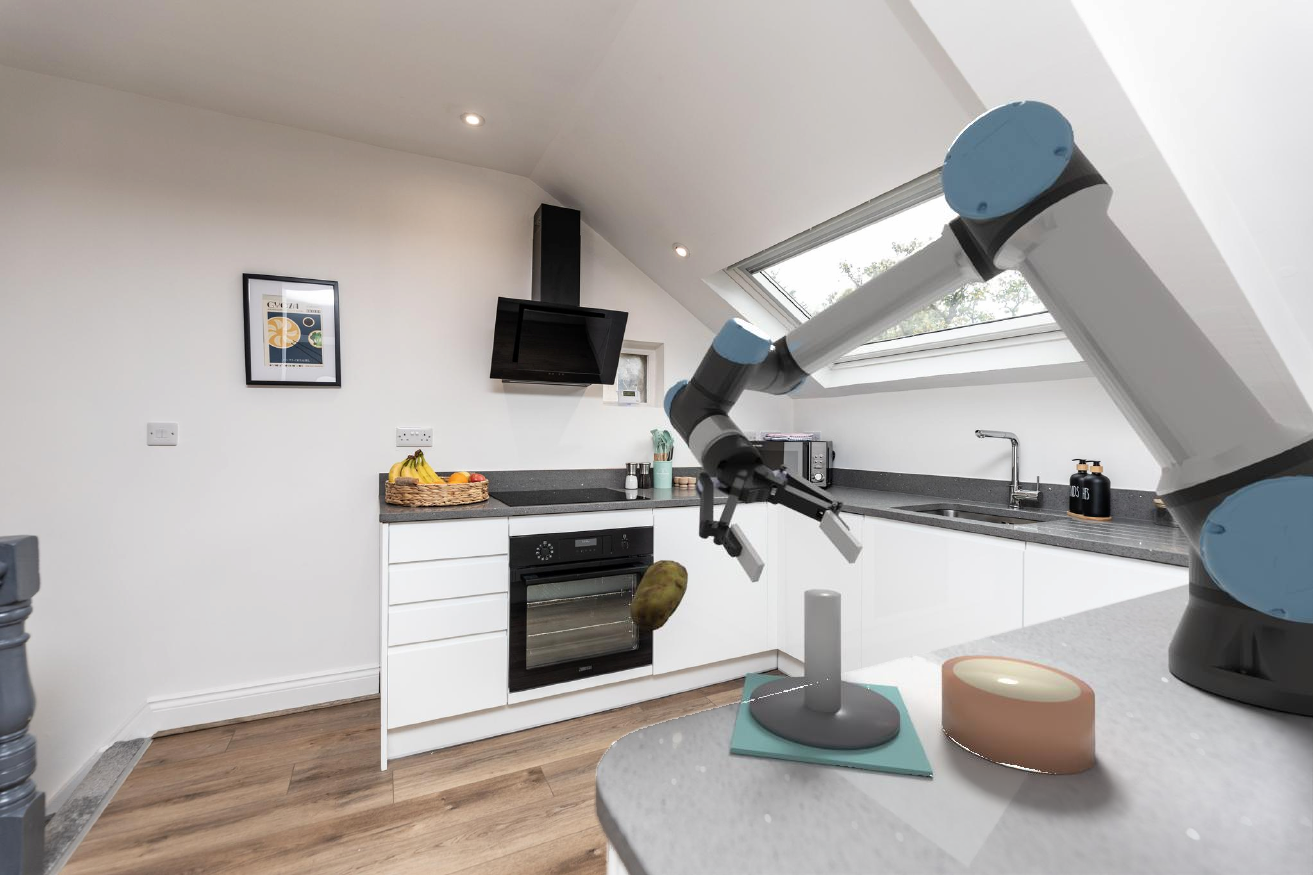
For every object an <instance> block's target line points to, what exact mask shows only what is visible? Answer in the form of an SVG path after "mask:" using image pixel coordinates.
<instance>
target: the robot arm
mask: <svg viewBox="0 0 1313 875" xmlns="http://www.w3.org/2000/svg"><path fill="white" fill-rule="evenodd" d="M940 173H941V175H940V176H941V180H940V181H941V182H940V183H941V188H942V191H943V194H944V198H945V199H944V200H945V201H946V203H947V205H948V207H949V208H950V209H951V210H952V211H954V213H956V214H955V215H953V216H952V217H950V218H949V219H948V220H946V221H945V222H944V225H943V228H942V231H941V233H940V234H938V235H937V236H935V237H934V238H932V239H931V240H929V241H927V242H926V243H924V244H923V245H922V246H920V247H919V248H917V249H915V250H914V251H912V252H911V253H909V254H907V255H906V256H905V257H903V258H901V259H900V260H898V261H897V262H895V263H893V265H890V266H889V267H888V268H886V269H885V270H883V271H881V272H880V273H878V274H877V275H875V276H874V277H872V278H871V279H869V280H868V281H866V282H865V283H863V284H862V285H860V286H859V287H857V288H855V289H854V290H852V291H851V292H848V294H846V295H844V296H843V297H841V298H840V299H839V300H837V301H836V302H834V303H832V304H830V305H829V306H827V307H826V308H825V309H823V310H822V311H820V312H819V313H817V314H815V315H814V316H812V317H811V318H809V319H808V320H806V321H804V322H803V323H802V324H800V325H798V326H797V327H796V328H794V329H792V330H791V331H789V332H788V333H786V334H785V335H783V336H781V337H780V338H779V339H777V340H775V341H774V342H772V340H771V337H770V336H769V335H767V333H765V332H764V331H762V330H761V329H760V328H758V327H756V326H755V325H753V324H751V323H749V322H746V321H745V320H743V319H741V318H738V317H732V318H731V317H730V318H729V319H727V320H726V321H725V323H724V324H723V326H722V328H721V329H720V331H719V332H718V334H717V335H715V337H714V338H713V341H712V342H711V343H710V346H709V347H708V349H707V351H706V353H705V354H704V356H703V358H702V359H701V362H700V363H699V365H698V367H697V368H696V370H695V371H694V374H693V375H692V376H691V378H687V379H686V378H685V379H682V380H678V381H677V382H676V383H675V385H673V386H670V387H669V389H668V390H667V392H666V393H665V396H664V398H663V410H664V412H665V414H666V416H667V418H668V419H669V423H670V425H671V426H672V427H673V429H674V430H675V431H676V433H678V435H679V436H680V438H681V439H682V440H683V442H684V443H685V444H686V445H687V447H688V449H689V450H690V452H691V454H692V455H693V457H694V458H695V459H696V461H697V462H698V463H699V465H700V466H701V468H702V469H703V470H704V472H702V471H701V472H700V473H699V476H698V479H697V480H698V481H697V484H696V486H695V490H696V493H697V495H698V497H699V518H698V519H699V524H698V536H699V538H701V539H703V540H705V539H708V538H709V537H712V538H713V540H712V542H713V544H715V545H716V546H723V547H724V550H725V551H726V552H727V555H728V556H730V557H731V558H736V559H737V561H738V563H739V564H740V566H741V567H742V569H743V570H744V572H745V573H746V575H747V576H748V578H749V580H750V581H751V583H757V582H759V580H760V578H761V575H762V572H763V570H764V567H765V565H766V564H765V562H764V561H763V559H762V557H761V556H760V555H759V553H758V552H757V550H756V549H755V548H754V546H753V545H752V543H751V542H750V540H749V539H748V538H747V536H746V535H745V532H744V531H742V529H741V527H740V526H739V525H738V523H732V524H731V522H732V519H733V516H734V514H735V510H736V507H737V506H738V503H739V502H742V503H744V504H753V503H755V502H758V503H764V502H768V503H769V504H772V505H774V506H776V505H782V506H784V507H786V508H788V509H790V510H792V511H795V512H797V513H799V514H801V515H803V516H805V517H808V518H810V519H813V520H815V521H817V522H819V526H818V527H819V529H820V530H821V531H822V533H823V534H824V535H825V536H826V537H827V538H828V540H829V541H830V542H831V543H832V545H834V547H835V548H836V549H837V551H839V553H840V555H842V557H844V559H845V560H846V561H847V562H848V563H849V564H850V565H851V564H855V563H856V561H857V559H858V557H859V554H861V551H862V549H863V547H864V546H863V544H862V543H860V542H859V540H858V539H857V538H856V537H855V536H854V535H853V533H852V532H851V528H850V527H849V525H847V523H846V522H845V521H844V520H843V518H841V517H840V516H839V515H840V512H841V510H842V508H843V506H844V502H843V500H841V499H840V498H838V497H836V496H835V495H834V494H833V495H832V494H831V493H829V492H827V491H826V490H825V489H822V488H821V487H819V486H818V485H816V484H815V483H813V482H811V481H809V480H807V479H806V478H804V476H803V477H802V476H801V475H799V474H797V473H796V472H795V471H794V470H793V469H792V468H791V467H790V466H789V465H787V464H781V465H780V466H779V469H777V470H772V469H770V468H768V467H766V465H765V464H764V462H763V459H762V456H761V454H760V452H759V450H758V449H757V448H756V447H755V445H754V444H753V443H752V442H751V441H750V440H749V439H748V437H747V436H746V435H745V433H743V431H742V430H741V429H740V427H739V426H738V425H737V424H736V423H735V422H734V421H733V420H732V418H731V417H730V416H729V413H730V411H731V410H732V408H733V407H735V404H736V403H737V402H738V400H739V399H740V397H741V395H742V394H743V392H744V391H745V390H746V391H753V392H759V393H765V394H770V395H773V396H783V395H791V394H795V392H797V391H799V390H800V389H801V388H802V387H803V385H805V384H804V383H806V381H807V378H808V377H809V376H811V375H813V374H814V373H815V374H816V372H818V371H820V370H821V369H824V368H825V367H827V366H828V365H830V364H831V363H834V362H835V361H837V360H838V359H839V360H840V358H842V357H844V356H846V355H848V354H850V353H851V352H853V351H854V350H856V349H857V348H860V347H861V346H863V345H864V344H866V343H868V342H870V341H871V340H873V339H874V338H877V337H878V336H880V335H881V334H884V333H885V332H887V331H889V330H890V329H892V328H893V327H895V326H897V325H899V324H900V323H902V322H904V321H906V320H907V319H909V318H911V317H913V316H914V315H916V314H918V313H919V312H921V311H923V310H925V309H926V308H928V307H930V306H931V305H933V304H935V303H937V302H939V301H940V300H942V299H944V298H945V297H947V296H949V295H950V294H952V293H954V292H955V291H958V290H959V289H960V288H963V287H965V286H966V285H967V284H969V283H973V282H974V283H980V284H984V283H986V282H989V281H990V280H992V279H993V278H995V277H997V276H999V275H1001V274H1002V273H1005V272H1006V271H1017V272H1019V273H1020V275H1021V276H1022V277H1023V278H1024V280H1025V281H1026V283H1027V284H1028V285H1029V286H1030V288H1031V290H1032V291H1033V292H1034V293H1035V295H1036V296H1037V298H1038V299H1039V300H1040V302H1041V303H1042V305H1043V306H1044V308H1045V309H1046V310H1047V312H1048V313H1049V314H1050V315H1051V317H1052V319H1053V320H1054V321H1055V322H1056V324H1057V325H1058V327H1059V329H1061V331H1062V332H1063V334H1064V336H1065V337H1066V338H1067V339H1068V340H1069V342H1070V343H1071V345H1072V346H1073V348H1074V349H1075V350H1076V351H1077V353H1078V354H1079V356H1080V357H1081V359H1082V360H1083V362H1084V363H1085V364H1086V365H1087V367H1088V368H1089V369H1090V371H1091V373H1092V374H1093V375H1094V377H1095V378H1096V379H1097V380H1098V382H1099V383H1100V385H1101V386H1102V388H1103V389H1104V390H1105V392H1106V393H1107V395H1108V396H1109V397H1110V399H1111V401H1112V402H1113V403H1114V404H1115V406H1116V407H1117V409H1118V411H1120V413H1121V414H1122V415H1123V417H1124V418H1125V420H1126V421H1127V422H1128V424H1129V425H1130V426H1131V428H1132V429H1133V430H1134V432H1135V433H1136V435H1137V436H1138V437H1139V439H1140V440H1141V442H1142V443H1143V445H1144V446H1145V447H1146V448H1147V450H1148V452H1150V454H1151V455H1152V457H1153V458H1154V460H1155V461H1156V462H1157V464H1158V465H1159V467H1160V468H1161V475H1160V478H1159V481H1158V484H1157V486H1156V489H1155V493H1156V495H1157V497H1158V498H1159V500H1160V501H1161V502H1162V503H1163V504H1164V506H1165V508H1166V510H1167V511H1168V512H1169V514H1170V515H1171V517H1172V518H1173V519H1174V521H1175V522H1176V524H1177V525H1178V527H1179V528H1180V530H1181V531H1182V533H1183V534H1184V535H1185V537H1186V538H1187V540H1188V601H1187V604H1186V606H1185V609H1184V611H1183V614H1182V616H1181V618H1180V621H1179V623H1178V625H1177V627H1176V630H1175V632H1174V634H1173V636H1172V639H1171V641H1170V643H1169V646H1168V648H1167V649H1168V660H1167V661H1168V664H1167V665H1168V667H1167V668H1168V670H1169V671H1170V672H1171V673H1172V674H1173V675H1174V676H1176V677H1177V678H1179V679H1180V680H1182V681H1184V682H1185V683H1189V684H1190V685H1193V686H1195V687H1197V688H1200V689H1202V690H1205V691H1208V692H1210V693H1213V694H1216V695H1218V696H1222V697H1225V698H1228V699H1232V700H1235V701H1239V702H1242V703H1246V704H1250V705H1255V706H1258V707H1262V708H1268V709H1273V710H1277V711H1283V712H1288V713H1292V714H1299V715H1305V716H1312V717H1313V430H1307V429H1303V428H1298V427H1292V426H1288V425H1285V424H1281V423H1279V422H1277V421H1276V420H1275V419H1274V418H1273V416H1271V414H1270V413H1269V412H1268V410H1267V409H1266V408H1265V406H1264V405H1263V404H1262V403H1261V402H1260V400H1258V398H1257V397H1256V396H1255V394H1254V393H1253V392H1252V391H1251V389H1249V387H1248V386H1247V385H1246V384H1245V382H1244V381H1243V380H1242V378H1241V377H1240V376H1239V375H1238V374H1237V372H1236V371H1235V370H1234V369H1233V367H1232V366H1231V365H1230V364H1229V363H1228V361H1227V360H1226V359H1225V357H1224V356H1223V355H1222V354H1221V353H1220V351H1219V350H1218V349H1217V348H1216V346H1215V345H1214V344H1213V343H1212V341H1210V339H1209V338H1208V336H1207V335H1206V334H1205V333H1204V332H1203V330H1202V329H1201V327H1199V326H1198V324H1197V323H1196V322H1195V321H1194V319H1193V318H1192V317H1191V316H1190V315H1189V313H1188V312H1187V311H1186V309H1185V308H1184V307H1183V306H1182V304H1180V302H1179V300H1177V298H1176V297H1175V296H1174V295H1173V294H1172V292H1171V291H1170V290H1169V288H1168V286H1166V285H1165V284H1164V282H1162V279H1160V277H1159V276H1158V275H1157V273H1156V272H1155V271H1154V270H1153V268H1151V266H1150V265H1149V264H1148V263H1147V262H1146V261H1145V259H1144V258H1143V256H1142V255H1141V254H1140V253H1139V252H1138V250H1137V249H1136V248H1135V247H1134V246H1133V244H1132V243H1131V242H1130V240H1129V239H1128V238H1127V237H1126V236H1125V235H1124V233H1123V232H1122V230H1121V229H1120V228H1119V227H1118V226H1117V225H1116V224H1115V222H1114V221H1113V220H1112V219H1111V217H1110V216H1109V215H1108V210H1109V207H1110V203H1111V201H1112V197H1113V193H1114V190H1113V188H1112V187H1111V185H1110V184H1109V183H1108V182H1107V181H1106V180H1105V178H1104V177H1103V176H1102V174H1101V173H1100V172H1099V171H1098V170H1097V168H1096V167H1095V166H1094V165H1093V163H1092V162H1091V161H1090V160H1089V159H1088V158H1087V156H1086V155H1085V154H1084V153H1083V151H1082V150H1081V149H1080V147H1079V146H1078V145H1077V143H1076V142H1075V135H1074V130H1073V127H1072V124H1071V123H1070V121H1069V120H1068V119H1067V118H1066V117H1065V116H1064V115H1063V113H1061V112H1060V111H1059V110H1058V109H1057V108H1055V107H1054V106H1052V105H1050V104H1048V103H1045V102H1042V101H1036V100H1024V101H1016V102H1008V103H1005V104H1001V105H999V106H996V107H995V108H994V107H993V108H992V109H990V110H988V111H986V112H985V113H982V114H981V115H980V116H978V117H977V118H976V119H974V120H973V121H971V123H969V124H968V125H967V126H966V127H965V128H964V129H963V130H962V131H961V132H960V133H959V135H958V136H956V138H955V140H954V141H953V143H952V144H951V146H950V147H949V148H948V151H947V152H946V156H945V159H944V162H943V165H942V169H941V172H940ZM774 486H776V490H775V493H774V494H773V493H772V492H773V487H774ZM716 489H717V490H718V491H719V492H721V493H723V494H725V495H727V496H728V498H727V499H726V502H725V505H724V508H723V509H722V513H721V515H720V518H719V520H714V507H715V506H714V504H715V502H714V496H715V495H714V494H715V490H716ZM730 524H731V525H730Z"/></svg>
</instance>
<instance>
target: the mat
mask: <svg viewBox="0 0 1313 875" xmlns="http://www.w3.org/2000/svg"><path fill="white" fill-rule="evenodd" d="M788 677H789V676H785V675H784V676H783V675H773V674H763V673H749V672H747V673H746V675H745V680H744V685H743V688H742V689H743V690H742V695H741V699H740V702H744V701H749V700H750V696H751V693H752V692H753V691H754V690H755V689H756V688H757V687H758V686H760V685H762V684H764V683H766V682H769V681H772V680H776V679H781V678H788ZM850 683H853V684H857V685H860V686H863V687H865V688H869V689H871V690H873V691H875V692H877V693H879V694H881V695H882V696H884V697H886V698H887V699H888V700H890V701H891V702H892V703H893V704H894V705H895V706H896V707H897V709H898V711H899V713H900V731H899V733H898V735H897V736H896V737H895V738H894V739H893V740H891V741H890V742H888V743H886V744H883V745H880V746H877V747H873V748H868V749H861V750H831V749H822V748H815V747H810V746H806V745H802V744H798V743H795V742H792V741H789V740H786V739H783V738H781V737H779V736H776V735H774V734H773V733H771V732H769V731H767V730H766V729H764V728H763V727H762V726H760V725H759V724H758V723H757V722H756V721H755V720H754V718H753V717H752V715H751V712H750V702H747V703H742V704H740V703H739V707H738V708H739V709H738V713H737V717H736V721H735V722H736V723H735V726H734V731H733V736H732V740H731V743H730V753H731V754H739V755H746V756H747V755H748V756H756V757H762V758H771V759H780V760H789V761H796V762H804V763H806V762H807V763H812V764H822V765H828V766H836V765H841V766H840V767H844V766H850V767H849V768H852V767H855V768H854V769H861V768H862V769H861V770H868V771H869V770H870V771H878V772H887V773H894V774H895V773H896V774H902V775H909V774H912V775H911V776H918V775H924V776H923V777H926V776H930V775H932V776H933V777H934V771H933V769H932V766H931V764H930V761H929V759H928V757H927V755H926V753H925V750H924V747H923V744H922V743H921V740H920V738H919V736H918V732H917V730H916V728H915V725H914V723H913V721H912V718H911V717H910V716H911V715H910V714H909V712H908V709H907V707H906V705H905V702H904V700H903V697H902V694H901V693H900V690H899V688H898V686H895V685H884V684H883V685H882V684H872V683H861V682H851V681H850ZM868 686H869V687H868Z"/></svg>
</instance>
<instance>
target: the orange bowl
mask: <svg viewBox="0 0 1313 875" xmlns="http://www.w3.org/2000/svg"><path fill="white" fill-rule="evenodd" d="M942 726H943V728H942V730H943V729H944V730H945V732H946V733H947V735H948V736H950V737H951V738H953V739H954V740H955V741H956V742H958V743H959V744H961V745H962V746H964V747H966V748H968V749H969V750H970V751H972V752H974V753H977V754H979V755H980V756H983V757H984V758H987V759H988V760H992V761H994V762H998V763H1005V764H1010V765H1017V766H1020V767H1024V768H1029V769H1035V770H1038V771H1039V770H1040V771H1041V772H1048V773H1051V774H1050V775H1070V774H1071V775H1072V774H1078V773H1082V772H1085V771H1087V770H1090V768H1092V767H1093V766H1094V764H1095V763H1096V694H1095V691H1094V689H1093V688H1092V687H1091V686H1090V685H1089V684H1088V683H1087V682H1085V681H1083V680H1082V679H1080V678H1079V677H1077V676H1074V675H1072V674H1070V673H1068V672H1066V671H1062V670H1061V669H1057V668H1054V667H1051V666H1049V665H1044V664H1041V663H1038V662H1033V661H1029V660H1023V659H1019V658H1013V657H1004V656H997V655H980V654H979V655H977V654H975V655H961V656H957V657H953V658H949V659H947V660H946V661H944V662H943V663H942V664H941V727H942ZM945 732H944V733H945ZM947 735H946V736H947ZM948 736H947V737H948ZM988 760H987V761H988ZM994 762H993V763H994ZM1055 773H1056V774H1055Z"/></svg>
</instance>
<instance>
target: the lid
mask: <svg viewBox="0 0 1313 875" xmlns="http://www.w3.org/2000/svg"><path fill="white" fill-rule="evenodd" d="M803 593H804V595H803V597H804V599H803V600H804V601H803V603H804V604H803V606H804V607H803V609H804V610H803V611H804V614H803V616H804V618H803V619H804V620H803V623H804V624H803V626H804V627H803V629H804V635H803V637H804V638H803V639H804V640H803V642H804V643H803V644H804V646H803V648H804V654H803V655H804V656H803V657H804V659H803V661H804V663H803V664H804V671H803V673H804V674H803V675H804V676H787V677H788V678H781V679H776V680H772V681H769V682H766V683H764V684H762V685H760V686H758V687H757V688H756V689H755V690H754V691H753V692H752V693H751V696H750V700H751V699H755V700H754V701H750V712H751V715H752V717H753V718H754V720H755V721H756V722H757V723H758V724H759V725H760V726H762V727H763V728H764V729H766V730H767V731H769V732H771V733H773V734H774V735H776V736H779V737H781V738H783V739H786V740H789V741H792V742H795V743H798V744H802V745H806V746H810V747H815V748H822V749H831V750H861V749H868V748H873V747H877V746H880V745H883V744H886V743H888V742H890V741H891V740H893V739H894V738H895V737H896V736H897V735H898V733H899V731H900V713H899V711H898V709H897V707H896V706H895V705H894V704H893V703H892V702H891V701H890V700H888V699H887V698H886V697H884V696H882V695H881V694H879V693H877V692H875V691H873V690H871V689H868V688H865V687H863V686H860V685H857V684H853V683H854V682H852V683H850V682H851V681H850V682H849V681H847V680H845V681H844V680H842V594H841V593H840V592H837V591H835V590H830V589H818V588H817V589H816V588H815V589H808V590H805V591H804V592H803ZM827 679H828V680H827ZM817 682H818V683H817ZM810 684H812V685H810ZM804 685H808V686H804ZM800 686H804V687H803V688H798V689H795V690H791V691H788V692H783V691H784V690H790V689H792V688H797V687H800ZM779 692H782V693H779ZM775 693H779V694H775ZM770 694H774V695H770ZM767 695H770V696H767ZM763 696H767V697H763ZM759 697H763V698H759ZM758 698H759V699H758Z"/></svg>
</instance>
